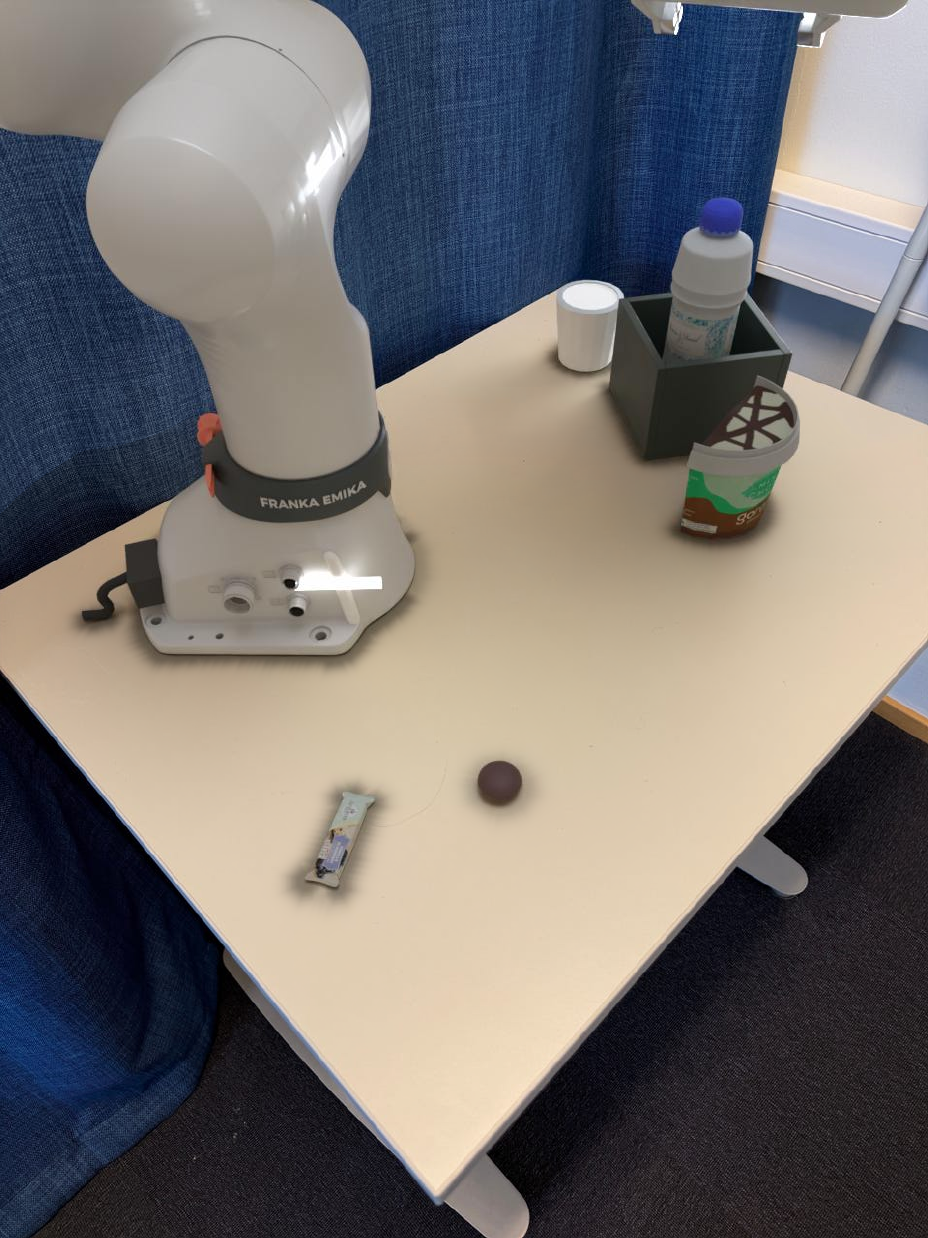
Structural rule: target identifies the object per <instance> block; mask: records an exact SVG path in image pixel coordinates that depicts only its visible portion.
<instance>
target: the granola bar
mask: <svg viewBox="0 0 928 1238" xmlns="http://www.w3.org/2000/svg"><path fill="white" fill-rule="evenodd" d="M341 797H342V798H343V799H342V800H341V803H340V804H339V807H338V809H337V812H336V814H335V816H334V817H333V818H334V819H333V820H332V822H331V825H330V828H329V829H328V832H327V834H326V837H325V839H324V841H323V844H322V846H321V848H320V850H319V853H318V855H317V857H316V860H315V862H314V865H313V866H312V867H313V870H311V871H309V872H307V873H306V875H305V877H304V880H305V881H311V882H312V881H314V882H318V883H321V884H324V885H328V886H330V887H334V888H337V887H338V886H339V884H340V878H341V876H342V875H343V871H344V868H345V867H346V865H347V861H348V859H349V857H350V854H351V852H352V849H353V847H354V845H355V842H356V840H357V838H358V834H359V832H360V830H361V827H362V824H363V822H364V821H365V817H366V816H367V812H368V808H369V807H370V806H371V805H372V804H373V803H375V801H376V797H375V796H371V795H366V794H356V793H354V792H349V791H345V790H344V791H342V793H341Z"/></svg>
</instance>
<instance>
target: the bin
mask: <svg viewBox="0 0 928 1238" xmlns="http://www.w3.org/2000/svg"><path fill="white" fill-rule="evenodd" d="M672 299H673V294H672V292H666V293H658V294H657V293H656V294H649V295H640V296H630V297H629V296H628V297H624V298H621V299H619V302H618V311H617V320H616V329H615V338H614V346H613V354H612V358H611V365H610V374H609V382H608V389H609V391H610V393H611V395H612V397H613V399H614V401H615V403H616V406H617V407H618V409H619V412H620V414H621V416H622V418H623V420H624V423H625V424H626V426H627V429H628V430H629V432H630V434H631V437H632V439H633V441H634V443H635V445H636V448H637V449H638V451H639V453H640V456H641V458H642V460H643V461H650V460H656V459H657V460H658V459H664V458H673V457H681V456H690V453H691V451H692V450H693V445H694V442H695V443H698V444H702V443H703V442H704V441H705V440H706V439H707V438H708V437H709V436H710V435H711V434H712V432H713V431H714V430H715V429H716V428H717V426H718V425H719V424H720V423H721V421H722V420H723V419H724V418H725V416H726V415H727V414H728V413H729V412H730V411H731V410H732V409H733V408H735V407H736V406H737V405H738V404H739V403H740V402H741V401H742V400H743V399H744V398H745V397H746V396H747V395H748V394H749V393H750V391H751V390H752V389H753V388H754V385H755V381H756V378H757V375H758V376H760V377H763V378H765V379H767V380H769V381H771V382H773V383H775V384H776V385H778V386H779V387H781V388H782V389H783V390H784V385H785V381H786V379H787V375H788V372H789V368H790V364H791V360H792V356H793V351H791V349H790V348H789V347H788V345H787V344H786V342H785V341H784V340H783V338H782V337H781V336H780V335H779V333H778V332H777V331H776V330H775V328H774V327H773V326H772V324H771V323H770V321H769V320H768V318H767V317H766V316H765V315H764V313H763V312H762V311H761V309H760V308H759V307H758V305H757V304H756V302H755V301H754V300H753V299H752V297H751V296H750V294H749V293H747V295H746V297H745V299H744V300H743V301H742V302H741V304H740V309H739V313H738V318H737V322H736V327H735V331H734V336H733V340H732V345H731V349H730V353H729V356H722V357H713V358H705V359H696V360H688V361H679V362H670V363H664V362H663V361H662V358H663V354H664V349H665V343H666V337H667V331H668V324H669V318H670V312H671V305H672Z"/></svg>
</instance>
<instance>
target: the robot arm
mask: <svg viewBox="0 0 928 1238" xmlns="http://www.w3.org/2000/svg"><path fill="white" fill-rule="evenodd" d="M908 2H909V0H630V3H631V4H632V5H633V6H634V7H635V8H637V9H638V10H639V11H640V12H641V13H642V14H643V15H645V17H647V18H648V19H649V20H651V24H652V28H653V33H654V34H656V35H657V34H659V35H677V33H678V30H679V24H680V22H681V20H682V16H683V4H689V5H698V6H699V5H700V6H701V5H702V6H714V7H715V6H716V7H726V8H740V9H741V8H742V9H753V10H765V11H779V12H789V13H802V19H801V20H800V23H799V26H798V29H797V41H796V46H799V47H809V48H817V49H820V48H821V47H822V44H823V42H824V38H825V35H826V32H827V31H829V30H830V29H831V28H832V27H834V26H835V25H836V24H837V23H839V22H840V21H841V20H842V17H855V18H856V17H858V18H868V19H869V18H870V19H879V20H880V19H889V18H891V17H892V16H894V15H895V14H897V13H899V12H900V11H902V10H903V9H904V8H906V7H907V5H908ZM367 63H368V62H367V60H366V57H365V55H364V52H363V50H362V48H361V46H360V44H359V43H358V40H357V39H356V38H355V36H354V35H353V32H351V30H350V29H349V28H348V27H347V25H346V24H345V23H344V22H343V21H342V20H341V18H339V17H338V16H337V15H336V14H334V13H333V12H332V11H330V9H327V8H326V7H325V6H323V5H321V4H319V3H317V2H315V1H313V0H0V129H3V130H6V131H10V132H13V133H17V134H21V135H30V136H67V137H75V138H82V139H87V140H92V141H97V142H101V143H102V145H101V147H100V150H99V152H98V155H97V157H96V159H95V162H94V164H93V167H92V170H91V172H90V175H89V179H88V181H87V182H88V183H87V187H86V193H85V209H86V218H87V221H88V226H89V229H90V233H91V236H92V238H93V241H94V243H95V246H96V248H97V250H98V252H99V254H100V256H101V258H102V259H103V261H104V262H105V264H106V266H107V268H109V270H110V271H111V273H113V275H114V276H115V277H116V278H117V280H118V281H119V282H120V283H121V284H122V285H123V286H124V287H125V288H126V289H127V290H128V291H129V292H130V293H131V294H133V295H134V296H135V297H136V298H137V299H138V300H140V301H141V302H143V303H144V304H146V305H147V306H148V307H150V308H152V309H153V310H155V311H157V312H159V313H161V314H163V315H165V316H167V317H170V318H172V319H175V320H178V321H179V322H180V324H181V325H182V327H183V329H184V330H185V331H186V333H187V334H188V336H189V338H190V339H191V342H192V344H193V345H194V348H195V349H196V351H197V353H198V356H199V358H200V360H201V363H202V366H203V368H204V372H205V375H206V378H207V382H208V384H209V385H208V386H209V388H210V392H211V395H212V399H213V402H214V406H215V409H216V412H217V413H212V412H208V413H204V414H202V415H201V416H200V417H199V419H198V420H197V433H196V434H197V435H196V438H197V441H198V443H199V444H200V445H201V446H202V449H201V455H200V456H201V457H200V459H201V465H202V470H203V473H204V474H203V475H202V476H200V477H199V478H198V479H196V480H195V481H194V482H192V483H191V484H190V485H189V486H187V487H186V488H184V489H183V490H181V491H180V492H179V493H178V494H176V495H175V496H174V497H173V498H172V499H171V500H170V502H169V503H168V505H167V507H166V510H165V512H164V514H163V516H162V517H163V518H162V520H161V524H160V527H159V531H158V537H157V538H156V537H155V538H150V539H145V540H141V541H140V540H139V541H135V542H131V543H126V544H124V556H125V570H126V571H124V572H122V573H119V574H118V575H116V576H114V577H111V578H110V579H107V580H106V581H105V582H104V583H103V584H101V585H100V586H99V588H98V589H97V590H96V600H97V602H98V603H99V604H100V606H101V607H102V608H100V609H99V608H98V609H86V610H85V609H84V610H82V611H81V617H82V620H83V621H84V622H86V621H99V620H105V619H107V618H109V617H111V616H112V615H113V614H114V613H115V609H116V608H115V607H116V606H115V603H114V601H113V600H112V599H111V598H110V597H109V594H110V592H112V591H114V590H115V589H117V588H119V587H122V586H124V585H125V584H127V587H128V588H129V591H130V594H131V595H132V598H133V600H134V602H135V605H136V607H137V609H138V610H139V613H140V618H141V622H142V626H143V630H144V631H145V635H146V636H147V638H148V640H149V642H150V643H151V644H152V646H153V647H154V649H156V650H157V651H158V652H159V653H161V654H168V655H268V656H269V655H270V656H271V655H278V656H280V655H283V656H285V655H286V656H287V655H288V656H289V655H290V656H292V655H294V656H299V655H301V656H337V655H342V654H344V653H346V652H348V651H349V650H350V649H351V648H352V647H353V646H354V645H355V644H356V642H357V641H358V640H359V638H360V637H361V636H362V633H364V631H365V629H366V628H367V627H368V626H369V625H370V624H372V623H373V622H375V621H376V620H377V619H379V618H380V617H382V616H383V615H385V614H386V613H388V612H389V611H390V610H391V609H392V608H393V607H395V606H396V605H397V604H398V603H399V602H400V601H401V599H402V598H403V597H404V596H405V594H406V593H407V591H408V590H409V587H410V586H411V584H412V582H413V578H414V575H415V570H416V559H415V554H414V551H413V548H412V546H411V544H410V542H409V540H408V538H407V536H406V534H405V532H404V530H403V528H402V525H401V522H400V520H399V517H398V514H397V511H396V507H395V504H394V501H393V497H392V480H393V465H392V455H391V446H390V439H389V433H388V430H387V429H386V425H385V420H384V417H383V415H382V413H381V412H380V410H379V408H378V400H377V391H376V379H375V373H374V364H373V355H372V347H371V346H372V345H371V338H370V330H369V326H368V324H367V321H366V319H365V318H364V316H363V314H362V313H361V312H360V310H359V309H357V307H356V306H355V305H354V304H353V303H351V302H350V301H349V298H348V296H347V294H346V290H345V288H344V285H343V283H342V280H341V276H340V273H339V269H338V267H337V262H336V255H335V247H334V232H335V230H334V229H335V222H336V216H337V215H336V214H337V209H338V204H339V202H340V199H341V196H342V193H343V192H344V190H345V188H346V187H347V185H348V183H349V181H350V180H351V178H352V176H353V175H354V172H355V171H356V169H357V167H358V165H359V163H360V161H361V160H362V157H363V155H364V152H365V150H366V147H367V144H368V138H369V132H370V124H371V113H372V83H371V82H372V81H371V74H370V70H369V66H368V64H367Z"/></svg>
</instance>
